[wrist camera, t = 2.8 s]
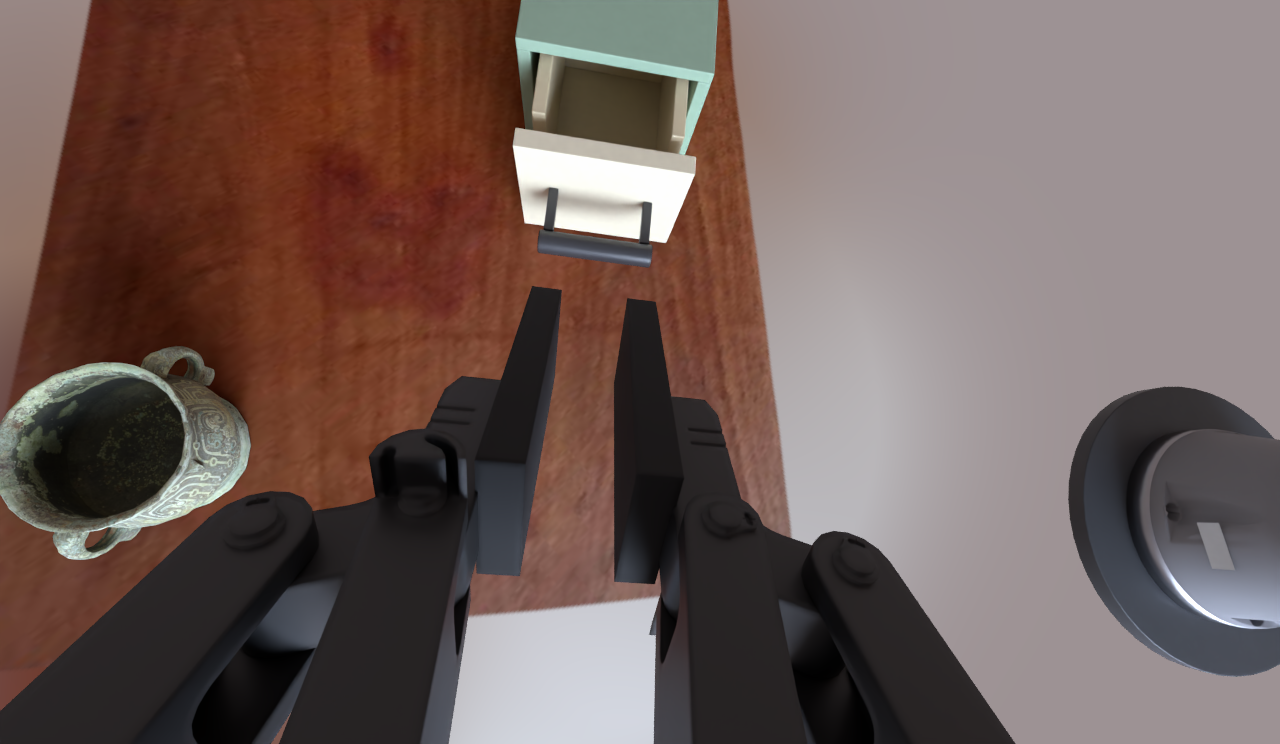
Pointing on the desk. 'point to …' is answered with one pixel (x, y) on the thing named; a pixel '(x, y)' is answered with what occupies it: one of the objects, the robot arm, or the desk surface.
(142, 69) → the desk surface
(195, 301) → the desk surface
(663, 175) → the drawer
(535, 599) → the desk surface
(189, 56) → the desk surface
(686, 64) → the cabinet
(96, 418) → the vessel
